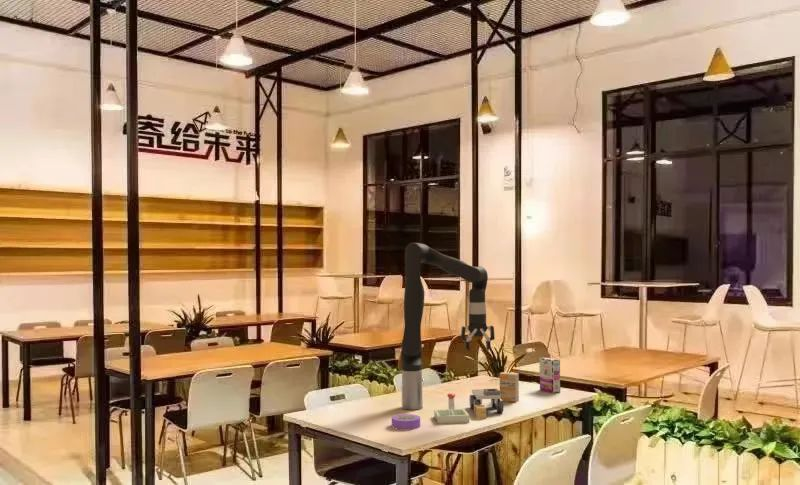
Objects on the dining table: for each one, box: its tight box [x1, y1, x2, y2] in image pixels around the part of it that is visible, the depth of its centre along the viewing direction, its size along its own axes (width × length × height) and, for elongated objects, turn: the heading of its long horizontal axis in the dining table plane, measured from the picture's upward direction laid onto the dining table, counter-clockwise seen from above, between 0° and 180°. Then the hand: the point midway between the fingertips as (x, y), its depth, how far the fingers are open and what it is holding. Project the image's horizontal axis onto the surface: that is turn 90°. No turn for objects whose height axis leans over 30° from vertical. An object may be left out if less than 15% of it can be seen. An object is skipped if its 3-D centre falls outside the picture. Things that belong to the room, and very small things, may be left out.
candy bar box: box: [538, 357, 561, 394], centre depth 343 cm, size 11×5×16 cm, turn 25°
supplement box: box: [499, 371, 520, 403], centre depth 321 cm, size 8×5×13 cm, turn 62°
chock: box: [473, 404, 487, 420], centre depth 289 cm, size 6×4×4 cm, turn 5°
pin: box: [447, 393, 456, 415], centre depth 285 cm, size 3×3×10 cm
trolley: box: [468, 388, 504, 414], centre depth 301 cm, size 12×16×10 cm
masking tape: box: [391, 413, 421, 430], centre depth 275 cm, size 12×12×4 cm
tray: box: [433, 408, 470, 425], centre depth 285 cm, size 13×12×3 cm
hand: (477, 350), depth 293 cm, fingers open, 8 cm apart
